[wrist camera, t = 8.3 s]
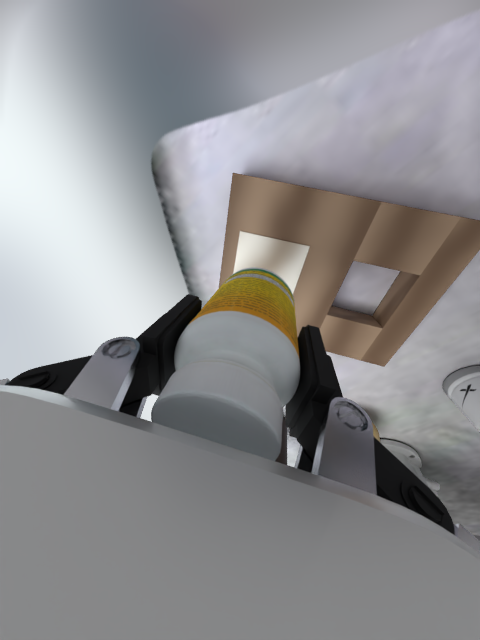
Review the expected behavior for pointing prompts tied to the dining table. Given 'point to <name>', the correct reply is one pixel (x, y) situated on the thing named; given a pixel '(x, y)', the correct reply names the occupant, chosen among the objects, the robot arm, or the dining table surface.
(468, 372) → the travel mug
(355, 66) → the dining table surface
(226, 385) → the supplement bottle
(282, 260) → the socket board
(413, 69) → the dining table surface
